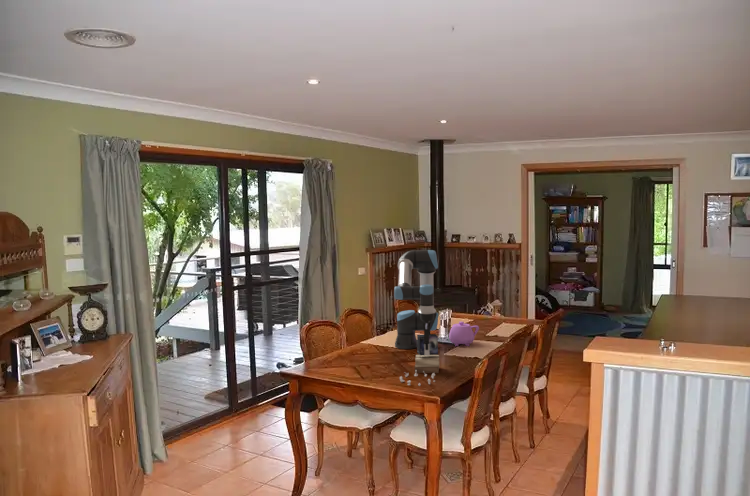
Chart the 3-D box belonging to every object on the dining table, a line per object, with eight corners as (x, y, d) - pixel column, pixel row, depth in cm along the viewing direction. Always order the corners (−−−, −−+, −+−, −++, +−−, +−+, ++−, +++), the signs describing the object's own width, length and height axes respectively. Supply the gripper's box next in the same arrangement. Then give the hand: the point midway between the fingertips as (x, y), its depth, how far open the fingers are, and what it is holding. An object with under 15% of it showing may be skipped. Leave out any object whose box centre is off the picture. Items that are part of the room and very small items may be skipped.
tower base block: (416, 368, 329) (416, 361, 328) (439, 368, 327) (439, 362, 326) (414, 373, 319) (414, 366, 318) (438, 374, 317) (438, 366, 317)
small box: (419, 355, 318) (419, 336, 317) (416, 353, 324) (416, 334, 324) (438, 354, 320) (438, 335, 319) (435, 352, 326) (434, 333, 326)
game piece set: (433, 375, 315) (433, 368, 315) (438, 386, 295) (438, 378, 295) (397, 376, 314) (397, 369, 314) (400, 387, 294) (400, 380, 294)
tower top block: (416, 361, 328) (415, 354, 328) (439, 361, 327) (439, 354, 326) (415, 366, 318) (415, 359, 318) (439, 366, 317) (439, 359, 316)
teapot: (477, 340, 392) (477, 318, 391) (480, 347, 372) (480, 324, 371) (448, 340, 394) (448, 318, 393) (449, 347, 374) (449, 324, 373)
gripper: (421, 309, 331) (422, 348, 333) (418, 316, 311) (419, 358, 313) (434, 309, 330) (435, 348, 332) (432, 316, 310) (433, 358, 311)
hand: (427, 353), depth 322 cm, fingers closed on small box, 8 cm apart
